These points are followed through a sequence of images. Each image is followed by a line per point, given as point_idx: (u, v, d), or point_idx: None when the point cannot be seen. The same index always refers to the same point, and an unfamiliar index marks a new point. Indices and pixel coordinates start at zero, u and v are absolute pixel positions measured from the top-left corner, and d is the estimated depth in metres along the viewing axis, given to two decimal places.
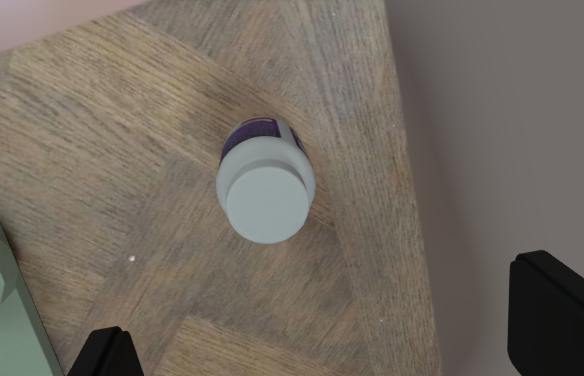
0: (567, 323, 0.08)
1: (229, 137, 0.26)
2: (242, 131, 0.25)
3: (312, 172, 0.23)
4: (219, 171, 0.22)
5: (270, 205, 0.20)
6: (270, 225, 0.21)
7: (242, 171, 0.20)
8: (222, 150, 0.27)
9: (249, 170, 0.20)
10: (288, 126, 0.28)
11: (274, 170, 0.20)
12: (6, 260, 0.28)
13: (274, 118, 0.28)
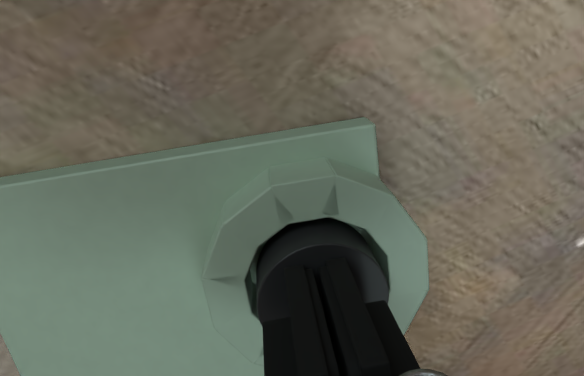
0: (332, 323, 0.09)
1: None
2: None
3: None
4: None
5: None
6: None
7: None
8: None
9: None
10: None
11: None
12: None
13: None
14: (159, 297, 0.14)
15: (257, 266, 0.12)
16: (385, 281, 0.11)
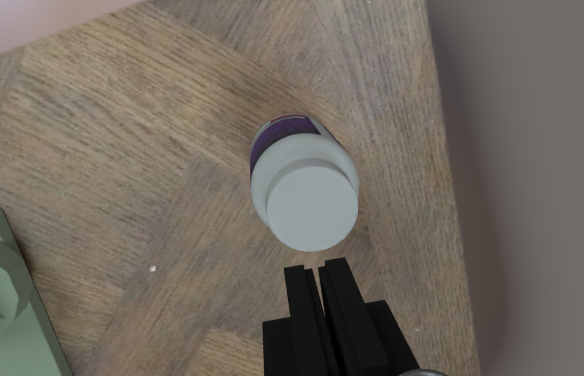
0: (332, 323, 0.09)
1: (259, 136, 0.24)
2: (275, 129, 0.23)
3: (356, 172, 0.20)
4: (255, 172, 0.20)
5: (316, 208, 0.18)
6: (315, 231, 0.18)
7: (284, 172, 0.18)
8: (251, 151, 0.25)
9: (292, 171, 0.18)
10: (321, 124, 0.26)
11: (321, 170, 0.18)
12: (20, 273, 0.26)
13: (305, 115, 0.26)
14: None
15: None
16: None
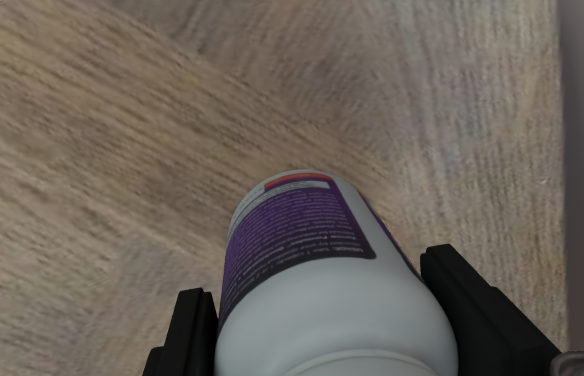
0: (454, 308, 0.09)
1: (242, 221, 0.13)
2: (272, 220, 0.11)
3: (455, 345, 0.09)
4: (221, 350, 0.09)
5: None
6: None
7: None
8: (227, 241, 0.14)
9: None
10: (357, 192, 0.14)
11: None
12: None
13: (329, 175, 0.14)
14: None
15: None
16: None
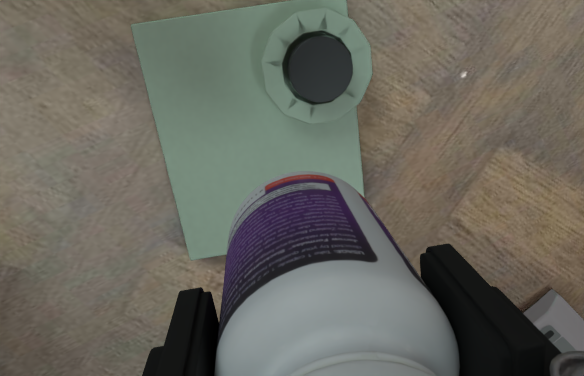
0: (454, 308, 0.09)
1: (243, 223, 0.13)
2: (273, 222, 0.11)
3: (457, 348, 0.09)
4: (222, 353, 0.09)
5: None
6: None
7: None
8: (228, 243, 0.14)
9: None
10: (358, 193, 0.14)
11: None
12: None
13: (329, 177, 0.14)
14: (234, 88, 0.27)
15: (288, 61, 0.25)
16: (350, 59, 0.24)
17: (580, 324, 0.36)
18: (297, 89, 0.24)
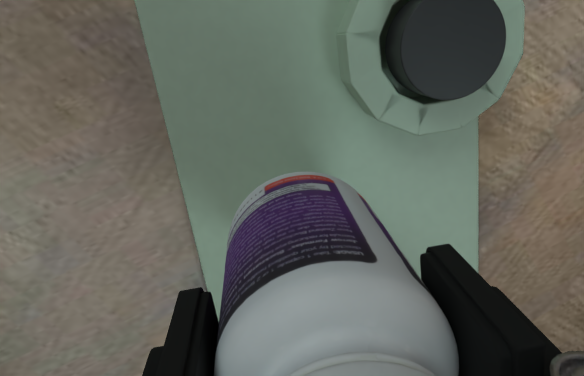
0: (454, 308, 0.09)
1: (242, 223, 0.13)
2: (273, 223, 0.11)
3: (456, 349, 0.09)
4: (222, 353, 0.09)
5: None
6: None
7: None
8: (227, 244, 0.14)
9: None
10: (357, 194, 0.14)
11: None
12: None
13: (329, 177, 0.14)
14: (293, 79, 0.17)
15: (389, 32, 0.15)
16: (504, 25, 0.14)
17: None
18: (411, 78, 0.14)
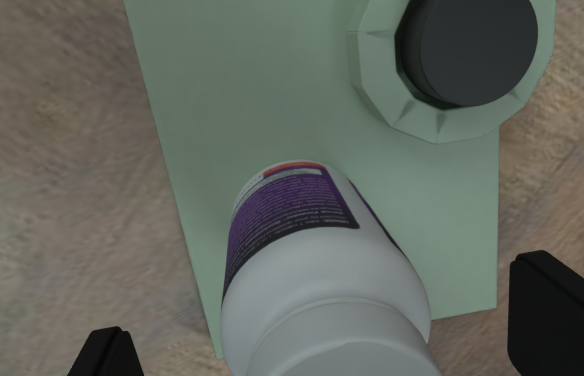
0: (567, 323, 0.08)
1: (243, 204, 0.14)
2: (270, 200, 0.13)
3: (427, 303, 0.10)
4: (227, 306, 0.10)
5: None
6: None
7: (287, 341, 0.08)
8: (230, 223, 0.15)
9: (308, 350, 0.07)
10: (347, 179, 0.16)
11: (374, 347, 0.08)
12: None
13: (321, 164, 0.16)
14: (297, 83, 0.15)
15: (405, 30, 0.14)
16: (536, 23, 0.12)
17: None
18: (431, 82, 0.13)
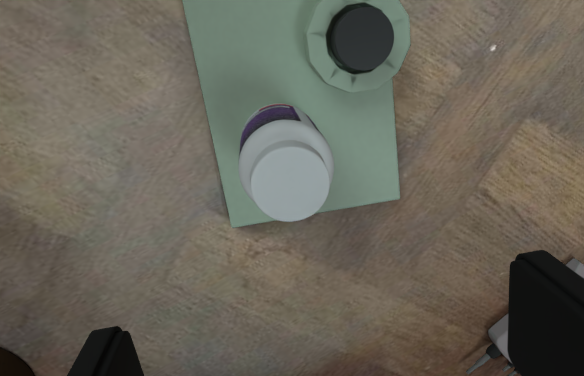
0: (567, 323, 0.08)
1: (248, 123, 0.27)
2: (262, 116, 0.26)
3: (331, 154, 0.23)
4: (242, 153, 0.23)
5: (293, 184, 0.21)
6: (292, 203, 0.21)
7: (266, 151, 0.21)
8: (241, 136, 0.28)
9: (273, 150, 0.20)
10: (304, 113, 0.28)
11: (297, 150, 0.20)
12: None
13: (291, 105, 0.29)
14: (277, 60, 0.28)
15: (331, 32, 0.26)
16: (392, 28, 0.25)
17: None
18: (341, 57, 0.26)
